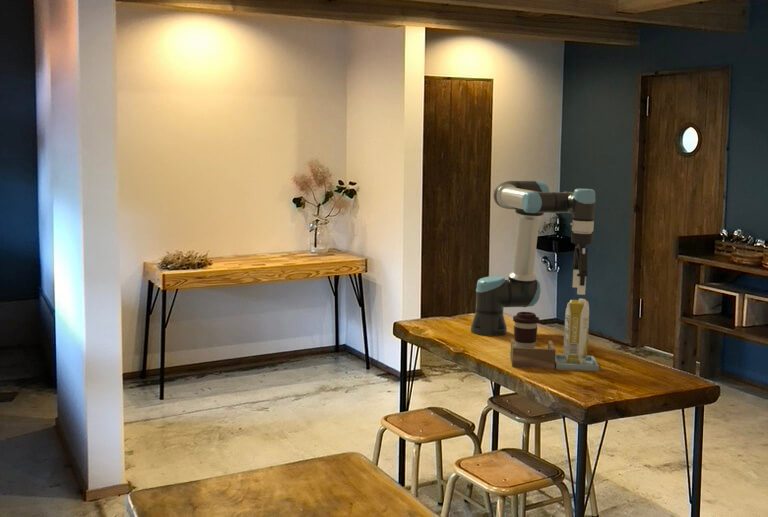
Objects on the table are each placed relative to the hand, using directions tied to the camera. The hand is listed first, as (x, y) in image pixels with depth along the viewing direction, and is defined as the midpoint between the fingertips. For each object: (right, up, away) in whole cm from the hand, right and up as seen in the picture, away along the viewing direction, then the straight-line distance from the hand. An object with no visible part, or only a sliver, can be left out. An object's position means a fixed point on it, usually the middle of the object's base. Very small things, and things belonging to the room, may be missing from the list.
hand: (578, 290), depth 310 cm
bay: (-16, -27, +5) cm, 31 cm away
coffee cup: (-16, -24, +22) cm, 37 cm away
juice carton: (-1, -27, +4) cm, 27 cm away
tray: (-1, -27, +3) cm, 28 cm away
